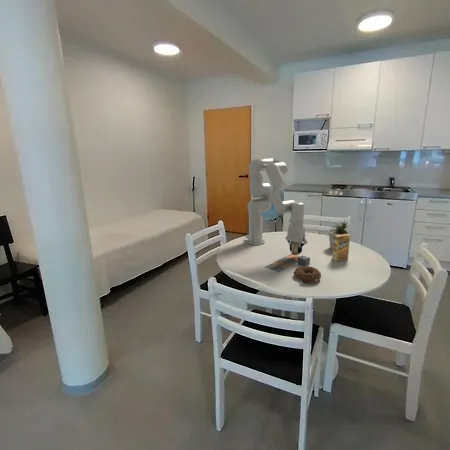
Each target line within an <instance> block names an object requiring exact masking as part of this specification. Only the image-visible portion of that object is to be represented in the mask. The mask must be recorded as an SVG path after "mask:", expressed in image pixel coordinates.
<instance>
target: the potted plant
mask: <svg viewBox="0 0 450 450" xmlns="http://www.w3.org/2000/svg"><path fill="white" fill-rule="evenodd" d="M338 222H339V223H340V224H338V223H336V222H334V224H335V225H332V226H331V229H329V230H327V231H328V240H329V248H330V249H331V250H333V239H334V235H340V234H348V235H350V234H349V233H351V232H352V231H348V228H349V226H350V224H349V225H347V224H348V223H349V222H348V221H346V219H344V221H340V220H338Z"/></svg>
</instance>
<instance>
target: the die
mask: <svg viewBox="0 0 450 450" xmlns="http://www.w3.org/2000/svg"><path fill="white" fill-rule="evenodd" d="M310 261H311V257H309V256H305V255H301V256H300V257H299V258H298V262H297V263H296V264H297V265H299V266H309V265H310V264H311V263H310Z"/></svg>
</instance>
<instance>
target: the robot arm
mask: <svg viewBox="0 0 450 450" xmlns="http://www.w3.org/2000/svg"><path fill="white" fill-rule="evenodd" d="M288 169H289V168H288V165H287V164H286V163H285V162H283V161H281V160H278V159H277V158H273V157H265V158H264V157H261V158H254V159H252V160H251V162H250V163H249V165H248V172H249V194H250V196H251V198H255V199H251V200H249V202H248V203H247V211H248V234H246V236H245V237H244V238H245V239H247V240H246V243H247V244H248V245H250V246H251V245H253V246H260V245H263V244H265V240H264V239H263V216H262V214H261V213H264V212H269V211H270V210H271V208H272V205H273V208H274V210H275V211H276V212H277V214H280V215H281V214H288V213H290V219H289V220H288V222H289V224H288V227H287V234H286V237H285V240H286V241H287V243H288V246H289V251H290V252H291V250H292V242H296V243H298V244H299V247H298V253H300V254H302V252H303V247H304V246H305V245H306V244H308V241H307V239H306V229H305V225H304V219H305V217H304V216H305V203H304V202H301V201H296V200H294V199H289V200H282V199H281V194H280V191H281V190H283V188H285V187H286V186H287V182H286V179H285V178H284V176H285V175H287V173H288ZM261 172H266V175H267V177H268V180H269V181H270V183H268V182H263V175H262V173H261Z"/></svg>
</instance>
